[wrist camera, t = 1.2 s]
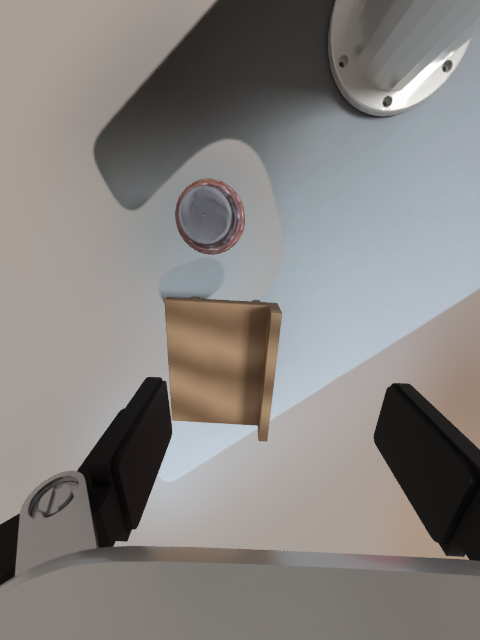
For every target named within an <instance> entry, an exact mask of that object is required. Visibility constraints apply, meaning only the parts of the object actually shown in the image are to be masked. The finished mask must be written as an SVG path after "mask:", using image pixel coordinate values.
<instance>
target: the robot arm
mask: <svg viewBox="0 0 480 640" xmlns="http://www.w3.org/2000/svg"><path fill="white" fill-rule="evenodd" d="M478 31H480V0H335V3H334V7H333V11H332V14H331V18H330V25H329V32H328V56H329V62H330V68H331V72H332V75H333V78H334V81H335V83H336V85H337V87H338V89H339V90H340V92H341V94H342V95H343V96H344V98H345V99H346V100H347V101H348V102H349V103H350V104H351V105H352V106H354V107H355V108H357V109H358V110H360V111H362V112H364V113H367V114H370V115H375V116H391V115H397V114H400V113H402V112H405V111H408V110H410V109H412V108H413V107H415V106H417V105H419V104H420V103H422V102H423V101H424V100H425V99H427V98H428V97H430V96H431V95H432V94H433V93H434V92H435V91H436V90H438V89H439V88H440V87H441V86H442V85H443V84H444V83H445V82H446V80H447V79H448V78H449V77H450V76H451V74H452V73H453V72H454V70H455V69H456V67H457V65H458V64H459V62H460V60H461V59H462V57H463V55H464V54H465V51H466V49H467V47H468V45H469V42H470V40H471V38H472V37H473V36H474V35H475V34H476V33H477V32H478ZM339 65H341V66H342V67H340V66H339ZM383 104H384V106H383ZM171 436H172V424H171V416H170V409H169V400H168V392H167V385H166V381H162V378H160V377H147V378H146V379H145V380H144V382H143V383H142V385H141V386H140V388H139V389H138V391H137V392H136V393H135V395H134V396H133V398H132V399H131V401H130V402H129V403H128V405H127V407H126V408H125V409H123V410H121V411H120V412H119V413H118V414H117V416H116V417H115V419H114V420H113V421H112V423H111V424H110V426H109V427H108V428H107V430H106V431H105V433H104V434H103V435H102V437H101V438H100V440H99V441H98V442H97V444H96V445H95V447H94V448H93V449H92V451H91V452H90V454H89V455H88V456H87V458H86V459H85V461H84V462H83V464H82V465H81V466H80V468H79V469H78V470H77V471H67V472H62V473H59V474H57V475H54V476H52V477H50V478H49V479H47V480H45V481H44V482H43V483H41V484H40V485H39V486H38V487H36V488H35V489H34V490H33V491H32V493H31V494H30V495H29V496H28V497H27V499H26V500H25V502H24V504H23V505H22V509H21V512H20V514H18V515H16V516H14V517H13V518H11V519H9V520H8V521H6V522H4V523H2V524H1V525H0V640H480V450H479V449H478V448H477V447H476V446H475V445H474V444H473V443H472V442H471V441H469V439H468V438H467V437H465V436H464V435H463V434H462V433H461V432H460V431H459V430H458V429H457V428H456V427H455V426H454V425H453V424H452V423H451V422H450V421H449V420H447V419H446V418H445V417H444V416H443V415H442V414H441V413H440V412H439V411H438V410H437V409H436V408H435V407H434V406H433V405H432V404H430V403H429V402H428V401H427V400H426V399H425V398H424V397H423V396H422V395H421V394H420V393H419V392H418V391H416V389H414V387H413V386H411V385H410V384H402V383H401V384H400V383H394V384H392V385H391V386H390V387H388V388H387V390H386V393H385V397H384V401H383V405H382V408H381V411H380V415H379V419H378V422H377V426H376V430H375V433H374V442H375V444H376V446H377V448H378V449H379V451H380V453H381V454H382V456H383V458H384V459H385V461H386V463H387V464H388V466H389V468H390V469H391V471H392V473H393V474H394V476H395V478H396V479H397V481H398V483H399V484H400V486H401V488H402V489H403V491H404V493H405V494H406V496H407V498H408V500H409V501H410V503H411V504H412V506H413V508H414V510H415V511H416V513H417V515H418V516H419V518H420V520H421V521H422V523H423V524H424V526H425V528H426V530H427V531H428V533H429V534H430V536H431V538H432V539H433V540H434V541H435V542H438V543H439V545H440V546H441V548H442V550H443V551H444V553H445V554H446V556H461V557H464V556H465V554H466V555H467V557H468V558H469V560H460V559H441V558H422V557H403V556H402V557H401V556H382V555H362V554H342V553H319V552H296V551H275V550H250V549H224V548H199V547H156V546H122V547H113V546H114V543H115V541H127V540H128V538H129V535H130V533H131V530H132V529H136V528H137V526H138V524H139V522H140V519H141V517H142V514H143V511H144V509H145V506H146V503H147V501H148V498H149V495H150V493H151V490H152V487H153V485H154V482H155V479H156V476H157V474H158V471H159V469H160V466H161V463H162V461H163V458H164V455H165V453H166V450H167V447H168V445H169V442H170V439H171Z"/></svg>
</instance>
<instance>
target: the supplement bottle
mask: <svg viewBox="0 0 480 640" xmlns="http://www.w3.org/2000/svg"><path fill="white" fill-rule="evenodd" d="M175 217H176V223H177V227H178V230H179V232H180V235H181V236H182V238H183V239H184V241H185V242H186V243H187V244H188V245H189V246H190V247H192V248H193V249H195V250H197V251H198V252H201V253H204V254H219V253H222V252H225V251H227V250H229V249H230V248H231V247H233V246H234V245H235V244H236V243H237V241H238V240H239V239H240V237H241V235H242V233H243V230H244V224H245V215H244V209H243V205H242V202H241V201H240V198H239V197H238V195H237V194H236V192H235V191H234V190H233V189H232V188H231V187H230V186H228V185H227V184H225V183H224V182H221V181H219V180H215V179H202V180H198V181H196V182H194V183H192V184H190V185H189V186H188V187H187V188H186V189H185V190H184V191H183V192H182V194H181V196H180V197H179V199H178V202H177V206H176V211H175Z"/></svg>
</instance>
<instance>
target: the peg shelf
mask: <svg viewBox="0 0 480 640" xmlns="http://www.w3.org/2000/svg"><path fill="white" fill-rule="evenodd" d="M165 315H166V331H167V346H168V361H169V378H170V394H171V409H172V420H174V421H191V422H208V423H226V424H243V425H258V439H259V441H267V437H268V429H269V420H270V412H271V403H272V395H273V386H274V378H275V369H276V361H277V352H278V343H279V335H280V326H281V318H282V312H281V310H280V308H279V306H278V304H277V303H266V302H260V301H259V300H253V301H252V302H248V301H247V302H246V301H229V300H210V299H200V298H199V297H192V298H175V297H168V298H166V299H165Z"/></svg>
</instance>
